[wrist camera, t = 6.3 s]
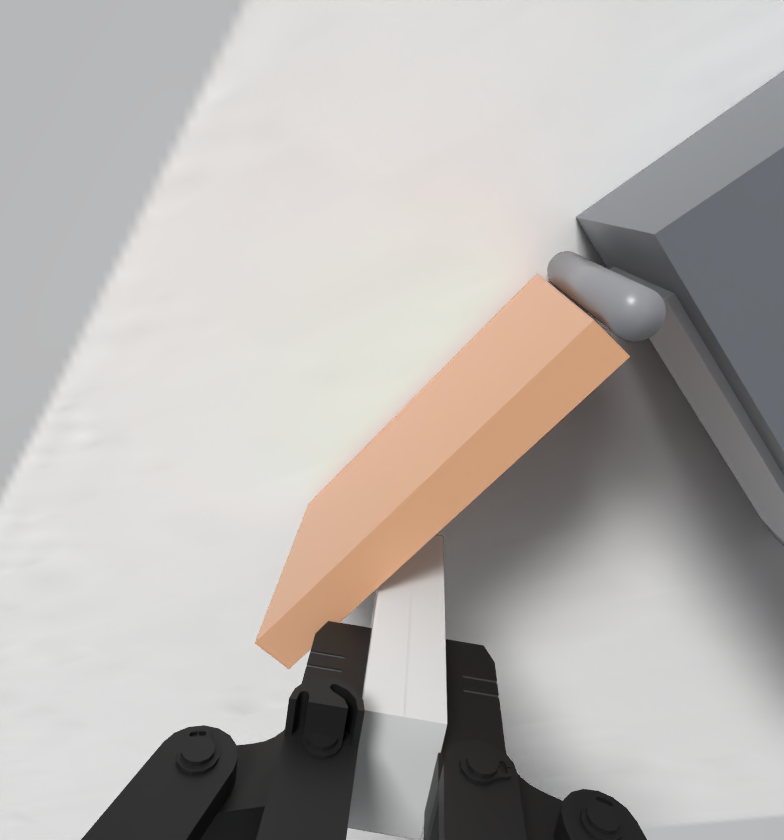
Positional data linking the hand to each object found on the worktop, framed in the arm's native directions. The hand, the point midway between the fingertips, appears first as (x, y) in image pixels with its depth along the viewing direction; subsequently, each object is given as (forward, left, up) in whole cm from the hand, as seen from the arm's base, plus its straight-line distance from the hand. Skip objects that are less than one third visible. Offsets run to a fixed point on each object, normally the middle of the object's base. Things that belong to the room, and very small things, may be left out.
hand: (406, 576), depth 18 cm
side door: (+3, -3, -4) cm, 6 cm away
